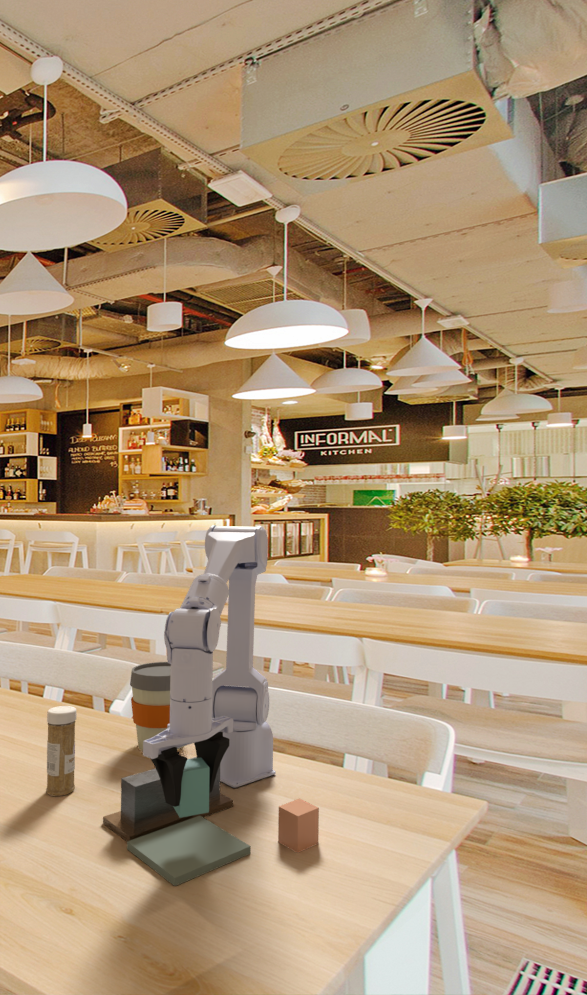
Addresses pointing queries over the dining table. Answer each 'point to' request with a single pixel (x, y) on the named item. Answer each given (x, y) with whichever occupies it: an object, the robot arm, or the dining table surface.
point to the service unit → (153, 806)
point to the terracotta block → (298, 825)
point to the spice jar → (61, 750)
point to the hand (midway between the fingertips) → (189, 796)
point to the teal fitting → (194, 789)
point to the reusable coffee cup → (150, 699)
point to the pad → (188, 849)
